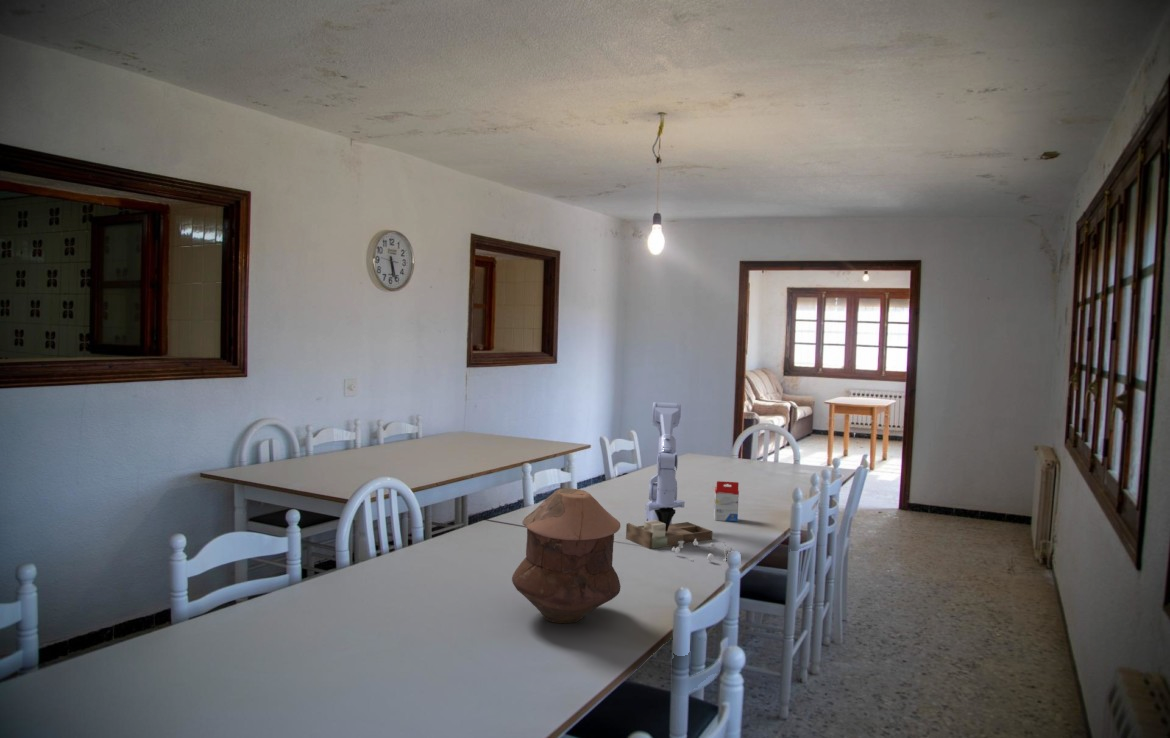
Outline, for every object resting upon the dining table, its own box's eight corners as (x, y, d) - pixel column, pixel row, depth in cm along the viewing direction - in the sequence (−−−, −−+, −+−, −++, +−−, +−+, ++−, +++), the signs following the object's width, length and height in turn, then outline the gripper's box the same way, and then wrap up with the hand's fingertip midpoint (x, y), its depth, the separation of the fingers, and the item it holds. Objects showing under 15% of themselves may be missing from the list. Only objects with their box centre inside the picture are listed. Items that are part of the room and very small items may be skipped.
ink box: (736, 518, 287) (738, 480, 286) (737, 522, 282) (739, 482, 281) (713, 517, 287) (715, 478, 287) (714, 520, 282) (716, 481, 282)
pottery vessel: (539, 591, 198) (543, 476, 196) (633, 607, 188) (638, 487, 187) (491, 624, 174) (496, 494, 172) (596, 646, 164) (602, 508, 163)
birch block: (643, 533, 248) (643, 521, 247) (655, 532, 250) (656, 520, 250) (652, 537, 243) (653, 525, 243) (665, 535, 246) (665, 523, 246)
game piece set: (734, 567, 227) (735, 554, 227) (667, 560, 231) (667, 548, 230) (734, 549, 246) (735, 537, 246) (672, 543, 250) (673, 532, 249)
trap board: (622, 536, 254) (623, 522, 254) (683, 529, 268) (684, 515, 267) (649, 548, 241) (650, 533, 241) (712, 539, 255) (712, 525, 255)
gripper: (655, 493, 241) (653, 536, 242) (691, 490, 249) (689, 531, 249) (642, 489, 247) (640, 530, 248) (677, 486, 255) (675, 526, 255)
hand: (664, 530), depth 249 cm, fingers closed
